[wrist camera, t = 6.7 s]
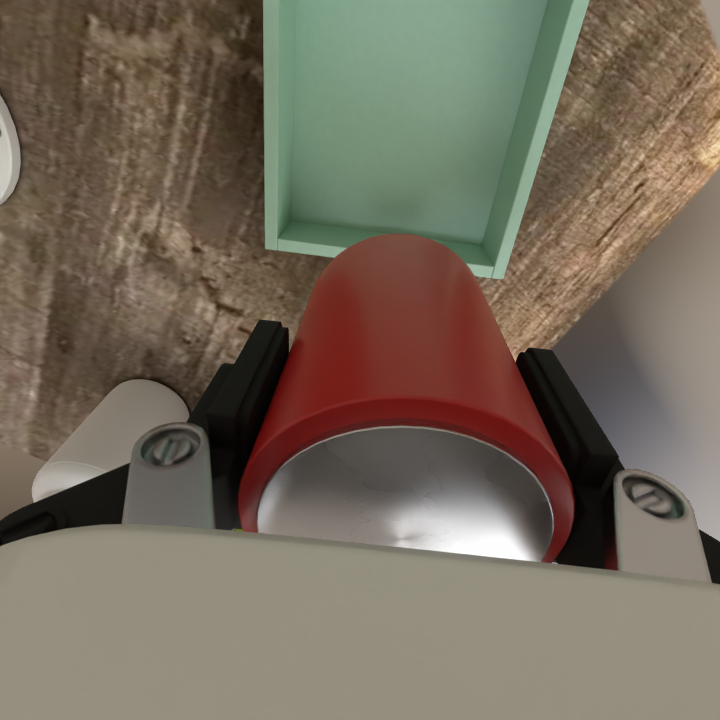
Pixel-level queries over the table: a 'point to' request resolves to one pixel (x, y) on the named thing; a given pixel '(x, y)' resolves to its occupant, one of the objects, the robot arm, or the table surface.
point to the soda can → (406, 418)
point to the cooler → (409, 119)
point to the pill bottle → (109, 435)
